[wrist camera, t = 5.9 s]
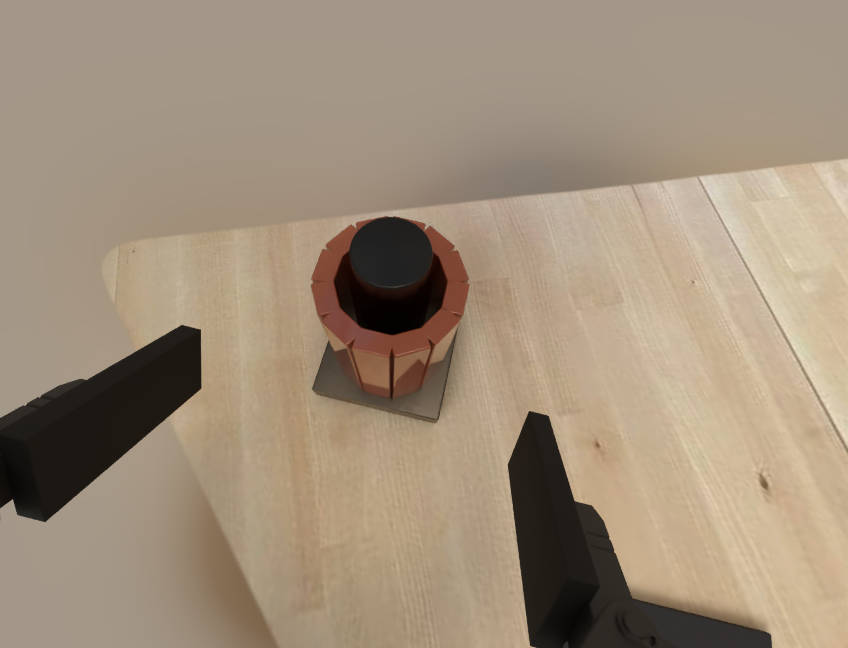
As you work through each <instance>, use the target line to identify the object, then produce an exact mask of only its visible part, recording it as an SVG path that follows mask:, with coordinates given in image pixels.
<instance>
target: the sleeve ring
mask: <svg viewBox="0 0 848 648" xmlns="http://www.w3.org/2000/svg"><path fill="white" fill-rule="evenodd" d="M385 217H388V216H385ZM394 217H396V216H394ZM380 218H384V217H380ZM397 218H400V217H397ZM375 219H379V218H375ZM375 219H371V220H366V221H361V222H357V223H356V228H355V227H354V226H352V225H350V226H348V227H347V228H346V229H345V230H343V231H342V232H341V233H340V234H338V235H337V236H336V237H334V238H333V239H332V240H331V241H329V242H328V243H327V244H326V249H327V250H325V249H323V250H322V251H321V254H320V257H319V259H318V262H317V265H316V267H315V270H314V273H313V275H312V278H311V279H312V282H313V284H311V289H312V293H313V297H314V302H315V306H316V310H317V315H318V317H319V319H320V322H321V324H322V326H323V328H324V330H325V333H326V335H327V337H328V339H329V341H330V344H331V346H332V348H333V350H334V352H335V355H336V357H337V359H338V361H339V363H340V366H341V368H342V369H343V371H344V373H345V375H346V376H347V377H348V378H349V379H351V380H352V381H353V382H354V383H355V384H356V385H357V386H358V387H359V388H360V389H361V390H363V389H364V390H365V392H366V393H370V394H374V395H378V396H382V397H386V398H390V396H391V392H392V395H393V398H396V397H400V396H403V395H406V394H410V393H413V392H417V391H418V388H420V389H422V388H423V387H424V386H425V385H426V384H427V383H428V382H429V381H430V380H431V378H432V377H433V376H434V375H435V374H436V373H437V372H438V370H439V368H440V366H441V364H442V362H443V360H444V357H445V355H446V353H447V351H448V348H449V346H450V344H451V341H452V339H453V337H454V335H455V332H456V330H457V328H458V326H459V323H460V321H461V319H462V317H463V314H464V309H465V304H466V299H467V295H468V290H469V284H467V283H468V280H469V278H468V276H467V273H466V271H465V268H464V265H463V263H462V260H461V257H460V255H459V252H458V251H454V247H455V246H454V245H453V244H452V243H450V242H449V241H448V240H447V239H446V238H444V237H443V236H442V235H441V234H440V233H438V232H437V231H436V230H435V229H434V228H432V227H431V226H429V227H428V228H427V229H426V230H425V224H424V223H421V222H417V221H412V220H408V219H405V220H408V221H410V222H412V223H414V224H416V225H417V226H418V227H420V228H421V229H422V230H423V231H424V232H425V234H426V235H427V237H428V238H429V240H430V242H431V245H432V250H433V259H432V265H431V270H430V275H429V280H428V286H427V291H426V296H425V302H424V307H423V312H422V317H421V323H420V324H422V325H423V326H422V327H421V328H418V329H414V330H410V331H406V332H402V333H399V334H395V335H389V334H385V333H381V332H377V331H373V330H369V329H365V328H361V327H360V325H361V324H362V321H361V316H360V311H359V305H358V300H357V295H356V290H355V284H354V279H353V274H352V269H351V263H350V258H349V248H350V244H351V241H352V239H353V237H354V236H355V234H356V233H357V231H358V230H359V229H360V228H361V227H362V226H364V225H365V224H367V223H369V222H370V221H373V220H375ZM402 219H404V218H402Z"/></svg>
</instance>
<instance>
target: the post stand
mask: <svg viewBox="0 0 848 648" xmlns="http://www.w3.org/2000/svg"><path fill="white" fill-rule="evenodd" d="M349 258H350V263H351V269H352V274H353V279H354V284H355V290H356V295H357V300H358V305H359V311H360V316H361V321H362V324H361V325H360V327H361V328H365V329H369V330H373V331H377V332H381V333H385V334H389V335H395V334H399V333H402V332H406V331H410V330H414V329H418V328H421V327H422V326H423V325H422V324H420V323H421V317H422V312H423V307H424V302H425V296H426V291H427V286H428V280H429V275H430V270H431V265H432V259H433V250H432V245H431V242H430V240H429V238H428V237H427V235H426V234H425V232H424V231H423V230H422V229H421V228H420V227H418V226H417V225H416V224H414V223H412V222H410V221H408V220H405V219H402V218H397V217H384V218H379V219H375V220H373V221H370V222H369V223H367V224H365V225H364V226H362V227H361V228H360V229H359V230H358V231H357V233H356V234H355V236H354V237H353V239H352V241H351V244H350V248H349ZM457 329H458V328H457ZM456 334H457V330H456V332H455V335H454V337H453V339H452V341H451V344H450V346H449V348H448V351H447V353H446V355H445V357H444V360H443V362H442V364H441V366H440V368H439V370H438V372H437V373H436V374H435V375H434V376H433V377H432V378H431V380H430V381H429V382H428V383H427V384H426V385H425V386H424V387H423V388H422V389H420V388H418V391H417V392H413V393H410V394H406V395H403V396H400V397H396V398H393V395H392V392H391V396H390V398H386V397H382V396H378V395H374V394H370V393H366V392H365V390H364V389H363V390H361V389H360V388H359V387H358V386H357V385H356V384H355V383H354V382H353V381H352V380H351V379H349V378H348V377H347V376H346V375H345V373H344V371H343V369H342V368H341V366H340V363H339V361H338V359H337V357H336V355H335V352H334V350H333V348H332V346H331V344H330V341H328V344H327V347H326V350H325V353H324V355H323V358H322V361H321V364H320V367H319V370H318V373H317V376H316V379H315V382H314V385H313V388H312V390H313V391H314V392H315V393H316V394H318V395H322V396H326V397H330V398H334V399H338V400H342V401H346V402H350V403H354V404H358V405H362V406H366V407H371V408H375V409H379V410H383V411H387V412H391V413H395V414H399V415H403V416H407V417H411V418H415V419H419V420H424V421H428V422H432V423H436V422H437V421H438V419H439V414H440V409H441V404H442V400H443V395H444V390H445V386H446V381H447V376H448V371H449V367H450V362H451V357H452V352H453V348H454V343H455V338H456Z"/></svg>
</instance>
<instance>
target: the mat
mask: <svg viewBox="0 0 848 648" xmlns="http://www.w3.org/2000/svg"><path fill="white" fill-rule="evenodd" d="M632 600H633V602H634V604H635V606H636V607H638V608H639V609H641V610H642V611H643V612H644V613H645V614H646V615H647V616H648V617H649V618H650V619H651V620H652V622H653V623H654V625H655V626H656V628H657V630H658V631H659V633H660V636H661V637H662V638H663V639H665V640H666V641H668V642H669V643H671V644H673V645H674V646H676V647H678V648H772V641H771V635H770V634H769V633H766V632H764V631H760V630H756V629H752V628H748V627H744V626H740V625H736V624H732V623H728V622H724V621H720V620H716V619H712V618H708V617H704V616H700V615H696V614H692V613H688V612H684V611H680V610H676V609H672V608H668V607H664V606H660V605H656V604H652V603H648V602H644V601H640V600H636V599H632ZM563 648H569V647H568V642H567V641H566V643H565V644H564V646H563Z"/></svg>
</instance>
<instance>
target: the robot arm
mask: <svg viewBox="0 0 848 648" xmlns="http://www.w3.org/2000/svg"><path fill="white" fill-rule="evenodd" d="M200 389H201V330H200V329H196V328H192V327H188V326H184V325H181V326H179V327H178V328H176V329H174V330H172V331H171V332H169V333H167V334H166V335H164V336H162V337H160V338H159V339H157V340H155V341H153V342H152V343H150V344H148V345H146V346H145V347H143V348H141V349H140V350H138V351H136V352H134V353H133V354H131V355H129V356H128V357H126V358H124V359H122V360H121V361H119V362H117V363H115V364H114V365H112V366H110V367H108V368H107V369H105V370H103V371H102V372H100V373H98V374H96V375H95V376H93V377H91V378H89V379H88V380H84V379H79V380H75V381H72V382H69V383H66V384H63V385H60V386H57V387H56V388H54V389H52V390H50V391H48V392H47V393H45V394H43V395H42V396H41V397H40V398H39V397H38V398H36V399H34V400H32V401H30V402H29V403H27V405H26V406H22V407H20V408H18V409H16V410H14V411H12V412H11V413H9V414H7V415H5V416H3V417H2V418H0V508H1V507H3V506H4V505H5V504H7V503H8V502H9V501H11V500H12V499H13V500H14V504H15V508H16V512H17V515H20V516H23V517H27V518H32V519H35V520H39V521H43V522H46V521H47V520H48V519H49V518H50V517H52V516H53V515H54V514H55V513H56V512H58V511H59V510H60V509H61V508H62V507H63V506H64V505H66V504H67V503H68V502H69V501H70V500H72V499H73V498H74V497H75V496H76V495H77V494H79V493H80V492H81V491H82V490H83V489H84V488H86V487H87V486H88V485H89V484H90V483H91V482H93V481H94V480H95V479H96V478H97V477H98V476H99V475H101V474H102V473H103V472H104V471H105V470H107V469H108V468H109V467H110V466H111V465H112V464H114V463H115V462H116V461H117V460H118V459H119V458H121V457H122V456H123V455H124V454H125V453H126V452H128V451H129V450H130V449H131V448H132V447H133V446H135V445H136V444H137V443H138V442H139V441H140V440H142V439H143V438H144V437H145V436H146V435H147V434H148V433H150V432H151V431H152V430H153V429H154V428H155V427H157V426H158V425H159V424H160V423H162V422H163V421H164V420H165V419H166V418H167V417H169V416H170V415H171V414H172V413H173V412H174V411H176V410H177V409H178V408H179V407H180V406H181V405H183V404H184V403H185V402H186V401H187V400H188V399H190V398H191V397H192V396H193V395H194V394H195V393H197V392H198V391H199V390H200ZM508 471H509V479H510V487H511V495H512V503H513V511H514V519H515V527H516V535H517V544H518V552H519V560H520V568H521V576H522V584H523V592H524V600H525V608H526V616H527V625H528V633H529V641H530V646H532V647H536V648H563V646H564V644H565V643H566V641H567V642H568V647H569V648H678V647H676V646H674V645H673V644H671V643H669V642H668V641H666V640H665V639H663V638H662V637H661V636H660V633H659V631H658V630H657V628H656V626H655V625H654V623H653V622H652V620H651V619H650V618H649V617H648V616H647V615H646V614H645V613H644V612H643V611H642V610H641V609H639V608H638V607H636V606H635V604H634V602H633V600H632V597H631V594H630V591H629V589H628V586H627V583H626V581H625V578H624V575H623V572H622V570H621V567H620V564H619V562H618V559H617V556H616V553H614V548H613V545H612V543H611V540H609V534H608V532H607V529H606V526H605V524H604V521H603V520H602V518H601V517H600V516H599V514H598V513H597V512H596V510H595V509H594V508H593V506H591V505H587V504H583V503H579V502H575V501H574V498H573V495H572V491H571V488H570V485H569V482H568V478H567V475H566V472H565V468H564V465H563V462H562V459H561V455H560V452H559V449H558V445H557V442H556V439H555V436H554V432H553V429H552V426H551V422H550V419H549V416H547V415H543V414H539V413H535V412H531V411H529V413H528V415H527V418H526V420H525V423H524V425H523V428H522V430H521V433H520V435H519V438H518V440H517V443H516V445H515V448H514V450H513V453H512V455H511V458H510V461H509V463H508Z"/></svg>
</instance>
